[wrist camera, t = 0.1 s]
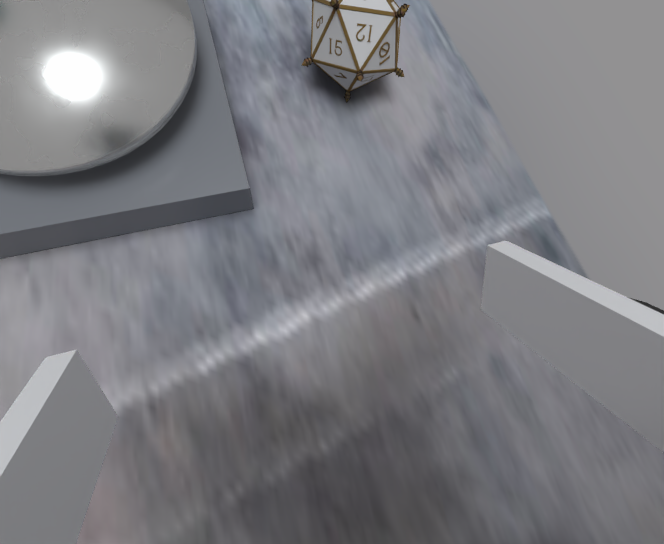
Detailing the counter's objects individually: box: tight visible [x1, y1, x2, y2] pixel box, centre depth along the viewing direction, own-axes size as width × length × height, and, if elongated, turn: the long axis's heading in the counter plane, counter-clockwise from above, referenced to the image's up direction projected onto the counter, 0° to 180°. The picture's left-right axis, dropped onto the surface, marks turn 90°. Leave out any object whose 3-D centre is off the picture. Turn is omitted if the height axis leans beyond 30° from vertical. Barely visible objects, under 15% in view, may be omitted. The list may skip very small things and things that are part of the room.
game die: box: [302, 0, 410, 102], centre depth 27 cm, size 9×8×10 cm
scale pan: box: [0, 0, 197, 176], centre depth 21 cm, size 18×18×2 cm
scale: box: [0, 0, 254, 259], centre depth 25 cm, size 23×20×4 cm
